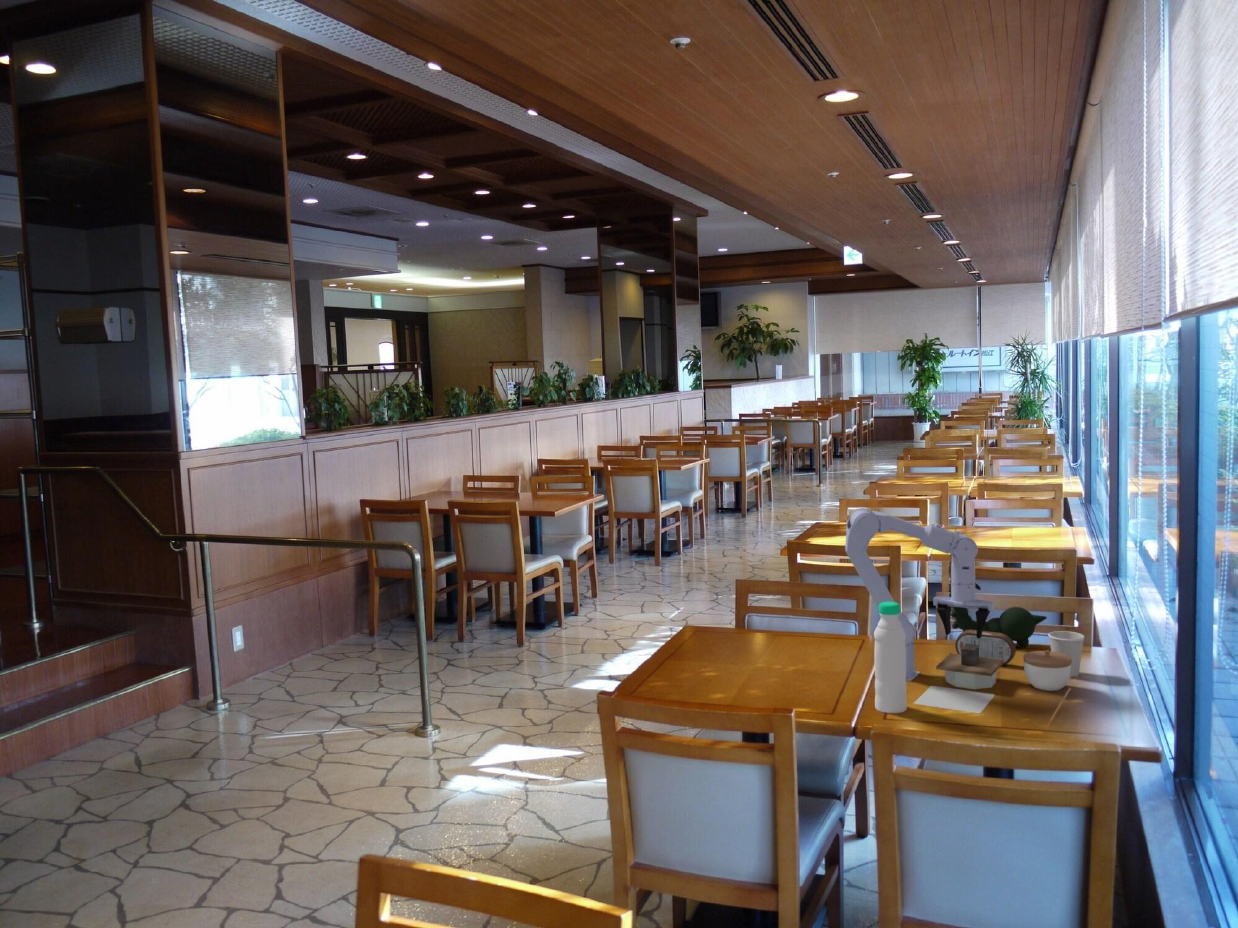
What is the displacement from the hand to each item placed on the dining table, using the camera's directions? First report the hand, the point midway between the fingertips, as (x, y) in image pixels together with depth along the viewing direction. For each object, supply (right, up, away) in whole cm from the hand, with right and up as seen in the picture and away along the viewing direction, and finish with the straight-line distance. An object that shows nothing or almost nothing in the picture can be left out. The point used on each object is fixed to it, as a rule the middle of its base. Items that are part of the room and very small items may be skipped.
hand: (963, 635), depth 249 cm
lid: (0, -6, -6) cm, 9 cm away
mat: (-8, -12, -18) cm, 23 cm away
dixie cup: (+26, -10, 0) cm, 28 cm away
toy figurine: (+19, -8, +28) cm, 35 cm away
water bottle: (-25, -13, -22) cm, 36 cm away
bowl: (0, -11, -5) cm, 12 cm away
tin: (+10, -9, +11) cm, 18 cm away
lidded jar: (+16, -11, -11) cm, 23 cm away
